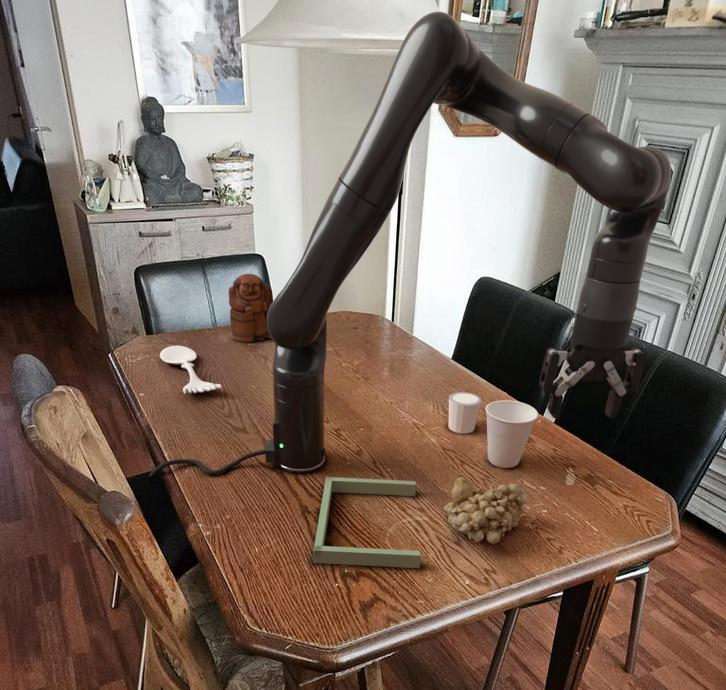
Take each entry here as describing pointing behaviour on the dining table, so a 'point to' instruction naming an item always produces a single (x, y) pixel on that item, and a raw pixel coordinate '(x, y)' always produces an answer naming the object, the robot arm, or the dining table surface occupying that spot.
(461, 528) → the mineral formation
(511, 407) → the cup
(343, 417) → the dining table surface
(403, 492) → the frame
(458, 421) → the white short cylinder
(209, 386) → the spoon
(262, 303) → the wooden figurine
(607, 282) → the robot arm
